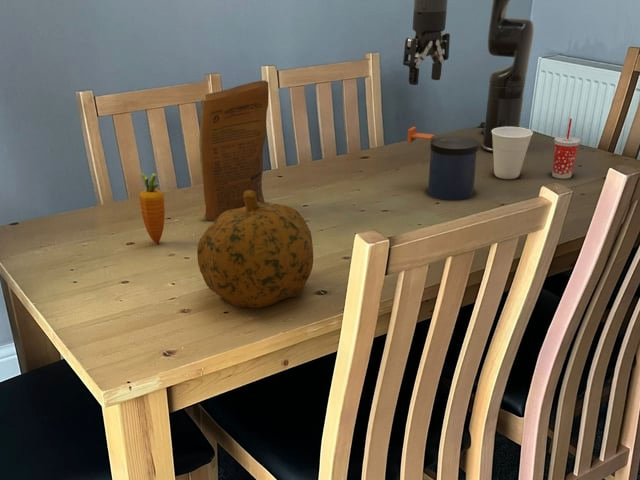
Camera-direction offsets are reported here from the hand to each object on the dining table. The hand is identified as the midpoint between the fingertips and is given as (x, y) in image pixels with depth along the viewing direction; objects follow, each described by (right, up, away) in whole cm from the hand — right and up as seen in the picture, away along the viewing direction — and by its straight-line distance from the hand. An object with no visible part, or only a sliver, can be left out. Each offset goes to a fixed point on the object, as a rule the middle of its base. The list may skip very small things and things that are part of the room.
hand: (424, 82), depth 191 cm
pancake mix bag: (-44, -34, -11) cm, 57 cm away
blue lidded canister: (+6, -27, -2) cm, 28 cm away
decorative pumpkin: (-38, -56, -47) cm, 82 cm away
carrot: (-60, -43, -25) cm, 78 cm away
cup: (+22, -21, +8) cm, 31 cm away
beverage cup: (+36, -21, +8) cm, 42 cm away
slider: (-2, -16, -4) cm, 16 cm away
